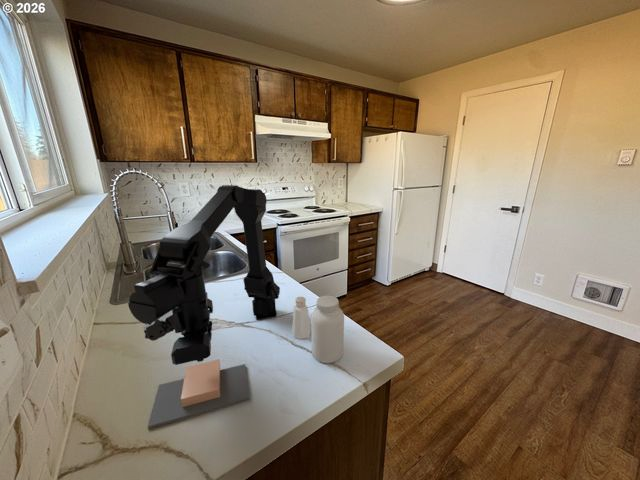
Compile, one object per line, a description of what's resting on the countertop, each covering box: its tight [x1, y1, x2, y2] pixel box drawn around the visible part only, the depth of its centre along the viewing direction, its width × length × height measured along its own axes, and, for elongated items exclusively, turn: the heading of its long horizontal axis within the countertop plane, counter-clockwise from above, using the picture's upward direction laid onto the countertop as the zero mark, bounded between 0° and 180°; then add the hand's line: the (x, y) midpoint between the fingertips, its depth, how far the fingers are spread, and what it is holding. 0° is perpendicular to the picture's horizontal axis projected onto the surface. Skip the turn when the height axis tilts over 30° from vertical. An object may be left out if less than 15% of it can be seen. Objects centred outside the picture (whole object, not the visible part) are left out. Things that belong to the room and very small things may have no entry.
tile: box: [181, 359, 221, 407], centre depth 57 cm, size 7×2×9 cm
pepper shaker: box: [291, 296, 312, 340], centre depth 74 cm, size 5×5×11 cm
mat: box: [147, 363, 250, 430], centre depth 56 cm, size 18×10×1 cm, turn 110°
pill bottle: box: [310, 295, 345, 364], centre depth 65 cm, size 8×8×15 cm
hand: (200, 360), depth 58 cm, fingers closed
